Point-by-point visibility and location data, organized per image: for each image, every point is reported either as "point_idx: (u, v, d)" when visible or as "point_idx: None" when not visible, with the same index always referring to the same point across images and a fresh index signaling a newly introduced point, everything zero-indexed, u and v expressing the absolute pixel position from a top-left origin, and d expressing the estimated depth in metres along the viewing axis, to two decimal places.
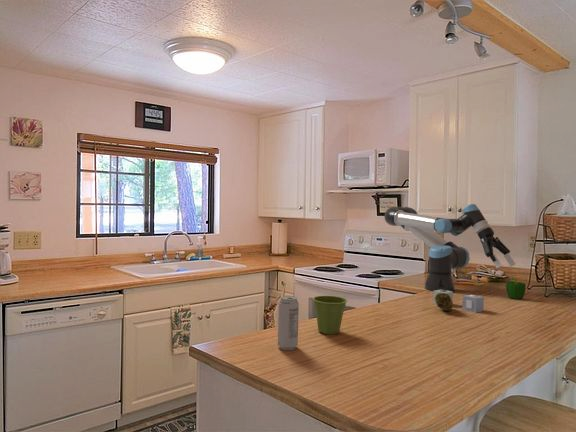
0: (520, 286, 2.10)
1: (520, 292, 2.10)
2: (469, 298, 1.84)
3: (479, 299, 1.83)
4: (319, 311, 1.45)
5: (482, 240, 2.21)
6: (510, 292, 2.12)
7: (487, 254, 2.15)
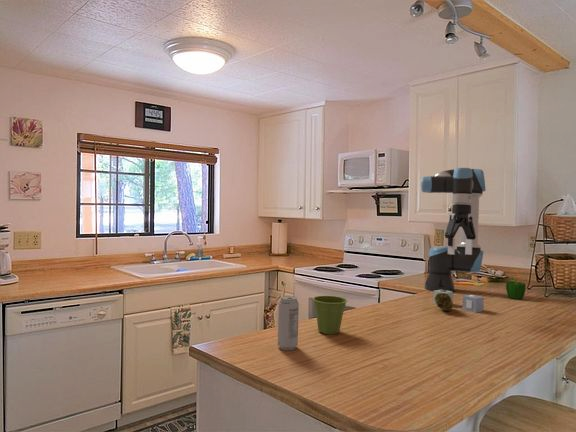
0: (520, 286, 2.10)
1: (520, 292, 2.10)
2: (469, 298, 1.84)
3: (479, 299, 1.83)
4: (319, 311, 1.45)
5: (452, 217, 1.80)
6: (510, 292, 2.12)
7: (446, 236, 1.78)
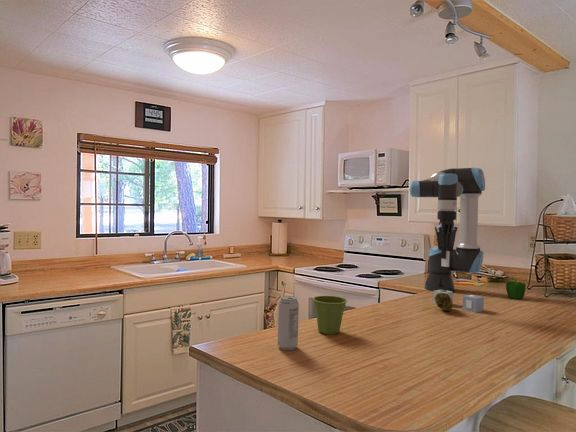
0: (520, 286, 2.10)
1: (520, 292, 2.10)
2: (469, 298, 1.84)
3: (479, 299, 1.83)
4: (319, 311, 1.45)
5: (437, 230, 1.79)
6: (510, 292, 2.12)
7: (440, 249, 1.81)
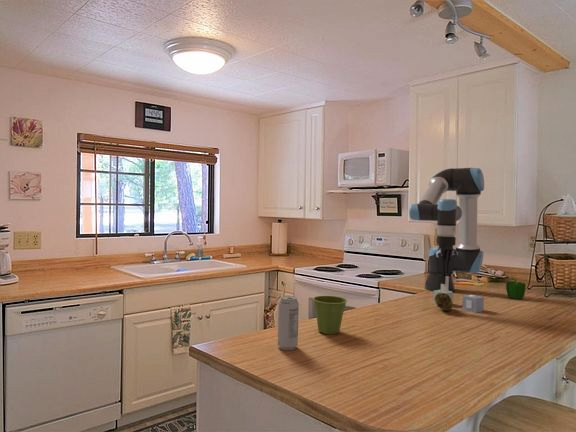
0: (520, 286, 2.10)
1: (520, 292, 2.10)
2: (469, 298, 1.84)
3: (479, 299, 1.83)
4: (319, 311, 1.45)
5: (436, 255, 1.80)
6: (510, 292, 2.12)
7: (439, 274, 1.81)
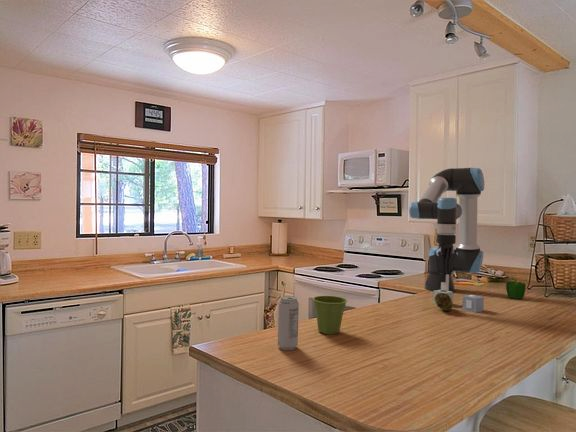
0: (520, 286, 2.10)
1: (520, 292, 2.10)
2: (469, 298, 1.84)
3: (479, 299, 1.83)
4: (319, 311, 1.45)
5: (436, 254, 1.80)
6: (510, 292, 2.12)
7: (439, 272, 1.82)
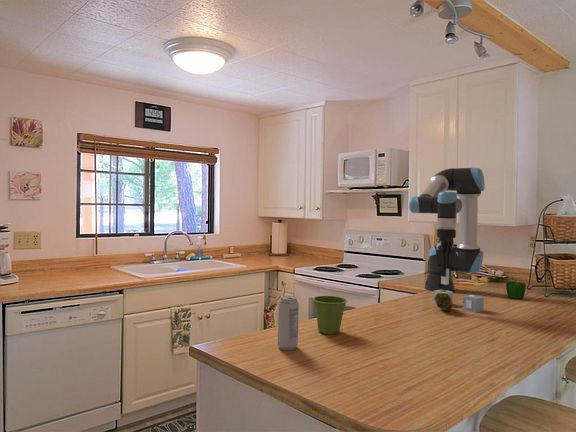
0: (520, 286, 2.10)
1: (520, 292, 2.10)
2: (469, 298, 1.84)
3: (479, 299, 1.83)
4: (319, 311, 1.45)
5: (437, 248, 1.80)
6: (510, 292, 2.12)
7: (439, 267, 1.82)
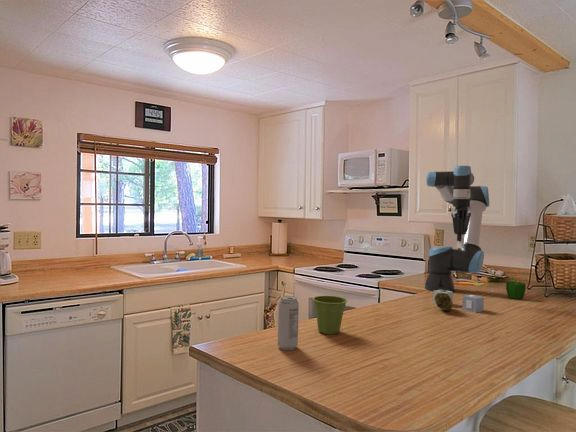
0: (520, 286, 2.10)
1: (520, 292, 2.10)
2: (469, 298, 1.84)
3: (479, 299, 1.83)
4: (319, 311, 1.45)
5: (453, 216, 2.02)
6: (510, 292, 2.12)
7: (455, 232, 2.04)
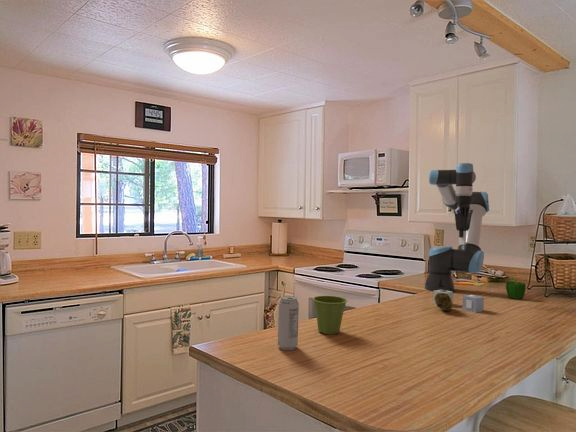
0: (520, 286, 2.10)
1: (520, 292, 2.10)
2: (469, 298, 1.84)
3: (479, 299, 1.83)
4: (319, 311, 1.45)
5: (456, 212, 2.06)
6: (510, 292, 2.12)
7: (458, 228, 2.08)
